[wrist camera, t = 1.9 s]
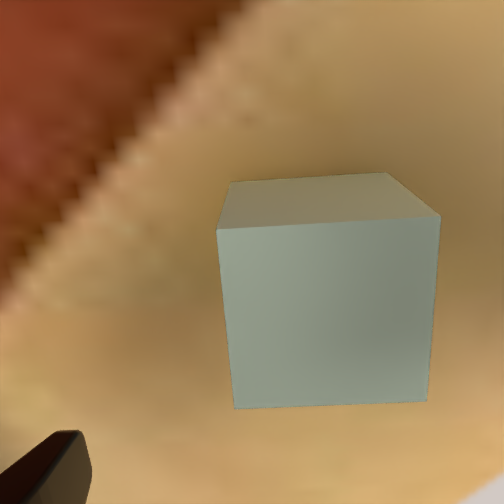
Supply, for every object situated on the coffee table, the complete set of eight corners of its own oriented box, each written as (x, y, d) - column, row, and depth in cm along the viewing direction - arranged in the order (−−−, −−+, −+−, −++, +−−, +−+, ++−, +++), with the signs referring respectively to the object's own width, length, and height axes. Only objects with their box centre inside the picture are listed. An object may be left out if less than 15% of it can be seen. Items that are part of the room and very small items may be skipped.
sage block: (381, 309, 17) (426, 401, 12) (242, 316, 17) (234, 409, 12) (385, 171, 15) (441, 216, 10) (230, 181, 15) (215, 229, 10)
